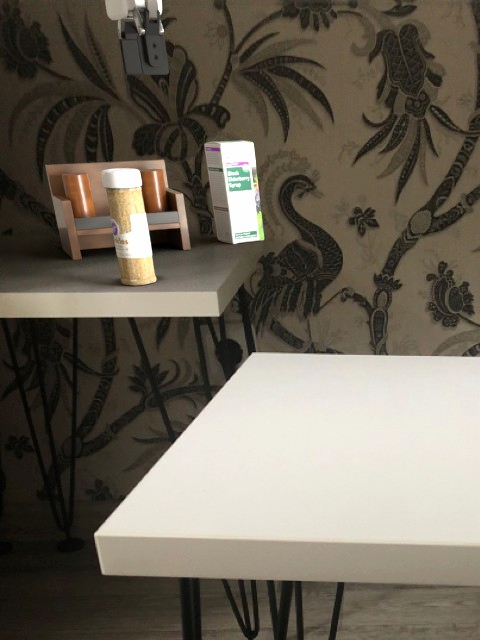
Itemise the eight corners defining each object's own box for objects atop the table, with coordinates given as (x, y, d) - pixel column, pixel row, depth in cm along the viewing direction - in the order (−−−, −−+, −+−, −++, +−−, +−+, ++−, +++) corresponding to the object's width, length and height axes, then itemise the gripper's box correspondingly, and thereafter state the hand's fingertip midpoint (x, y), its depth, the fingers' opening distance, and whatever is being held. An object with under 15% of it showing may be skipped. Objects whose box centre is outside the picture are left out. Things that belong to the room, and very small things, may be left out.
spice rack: (73, 260, 134) (55, 170, 128) (62, 250, 142) (45, 165, 136) (191, 249, 141) (178, 164, 135) (174, 240, 149) (162, 159, 143)
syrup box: (233, 244, 145) (221, 142, 138) (216, 240, 149) (203, 141, 142) (265, 240, 148) (254, 140, 141) (247, 236, 152) (236, 139, 145)
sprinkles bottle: (114, 284, 119) (92, 169, 112) (142, 278, 122) (123, 166, 115) (136, 287, 116) (116, 171, 110) (165, 281, 120) (147, 168, 113)
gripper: (74, -86, 112) (102, 75, 120) (102, -108, 99) (131, 74, 107) (136, -83, 115) (159, 74, 124) (172, -103, 102) (194, 74, 110)
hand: (146, 74), depth 115 cm, fingers open, 9 cm apart
